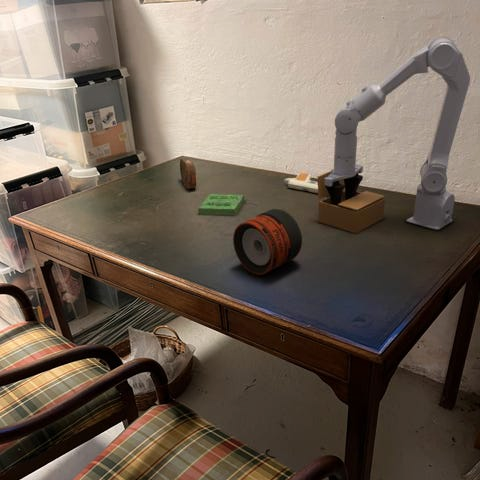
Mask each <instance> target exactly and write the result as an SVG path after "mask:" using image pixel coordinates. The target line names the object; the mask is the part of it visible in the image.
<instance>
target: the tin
mask: <svg viewBox="0 0 480 480" xmlns="http://www.w3.org/2000/svg"><path fill="white" fill-rule="evenodd" d="M179 173H180V178H181V182H182V184H183V185H184V186H185V188H186V189H187V190H191V189H195V188H196V187H197V172H196V167H195V164H194V163H193V162H192V161H191V159H190V158H180V161H179Z"/></svg>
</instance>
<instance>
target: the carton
mask: <svg viewBox="0 0 480 480" xmlns="http://www.w3.org/2000/svg"><path fill="white" fill-rule="evenodd" d="M385 197H386V196H385V195H384V194H379V193H376V192H371V191H367V190H365V191H363V192H361V191H358V190H357V191H356V194H355V196H354V197H352V198H350V199H348V200H346V198H345V189H344V190H343V192H342V196H341V199H342V200H346V201H344V202H342V203H340V204H338V206H342V207H345V208H349V209H352V210H349V209H345V208H342V207H338V206H335V205H332V204H331V199H330V196H327V197H325V198H324V199H320V200H319V201H318V217H317V222H318V223H322V224H324V225H328V226H331V227H334V228H337V229H341V230H344V231H347V232H349V233H354V234H358V233H359V232H361V231H363V230H365V229H367V228H369V227H370V226H372V225H375V224H376V223H378V222H379V221H381V220H383V219H384V214H385V213H384V212H385V204H386V198H385Z"/></svg>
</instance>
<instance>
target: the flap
mask: <svg viewBox="0 0 480 480" xmlns="http://www.w3.org/2000/svg"><path fill="white" fill-rule="evenodd" d="M330 174H331V170H330V171H328V172H325V173H323V174H321V175H318V176H317V183H318V193H317V198H318V200H322V199H323V198H327V197H329V196H328V195H329V193H328V191H327V189H326V187H325V185H324V182H325V178H326V177H328V176H329V175H330ZM339 183H340V184H341V185H345V184H344V179H343V180H341V181H339Z"/></svg>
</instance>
